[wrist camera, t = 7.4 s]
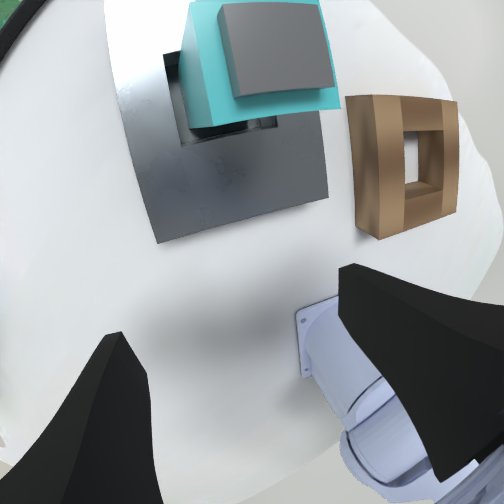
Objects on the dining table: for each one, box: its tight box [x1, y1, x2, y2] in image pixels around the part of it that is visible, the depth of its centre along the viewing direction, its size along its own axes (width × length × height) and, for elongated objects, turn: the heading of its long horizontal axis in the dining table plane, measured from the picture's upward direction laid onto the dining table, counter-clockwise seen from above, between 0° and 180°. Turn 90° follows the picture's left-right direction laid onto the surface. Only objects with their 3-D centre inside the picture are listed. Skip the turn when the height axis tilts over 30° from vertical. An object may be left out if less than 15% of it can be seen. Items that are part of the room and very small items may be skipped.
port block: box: [104, 0, 329, 244], centre depth 13 cm, size 14×10×3 cm
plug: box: [178, 0, 341, 129], centre depth 10 cm, size 4×4×11 cm
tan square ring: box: [345, 95, 459, 240], centre depth 18 cm, size 10×10×3 cm
